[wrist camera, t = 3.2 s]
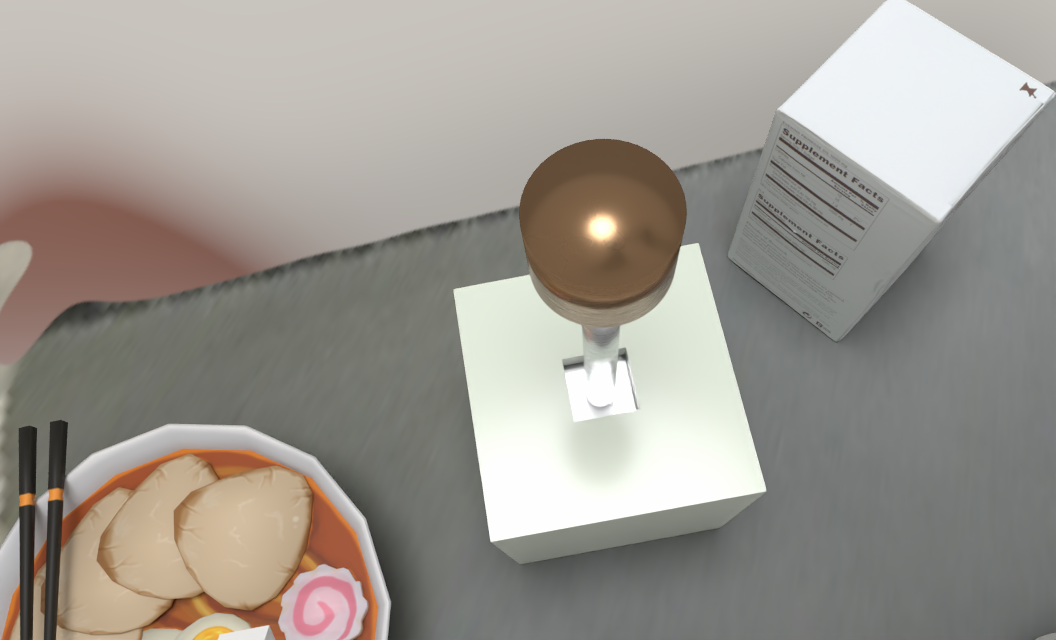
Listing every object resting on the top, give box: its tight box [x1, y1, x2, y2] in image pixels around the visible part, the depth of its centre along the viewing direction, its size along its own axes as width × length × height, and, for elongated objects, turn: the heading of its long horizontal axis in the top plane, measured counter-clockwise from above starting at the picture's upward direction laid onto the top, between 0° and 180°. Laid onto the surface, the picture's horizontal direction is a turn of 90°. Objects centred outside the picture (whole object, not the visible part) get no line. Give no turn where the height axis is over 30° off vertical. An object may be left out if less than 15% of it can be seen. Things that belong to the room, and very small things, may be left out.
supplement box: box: [727, 0, 1056, 342], centre depth 45 cm, size 10×9×17 cm
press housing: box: [454, 243, 766, 564], centre depth 43 cm, size 12×12×14 cm
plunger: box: [519, 139, 687, 422], centre depth 30 cm, size 9×9×19 cm
